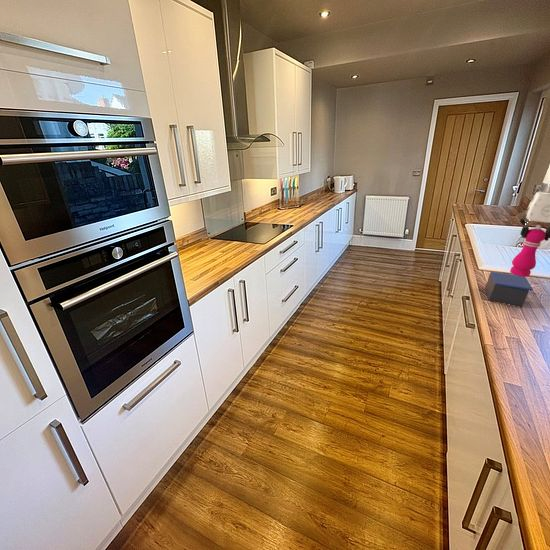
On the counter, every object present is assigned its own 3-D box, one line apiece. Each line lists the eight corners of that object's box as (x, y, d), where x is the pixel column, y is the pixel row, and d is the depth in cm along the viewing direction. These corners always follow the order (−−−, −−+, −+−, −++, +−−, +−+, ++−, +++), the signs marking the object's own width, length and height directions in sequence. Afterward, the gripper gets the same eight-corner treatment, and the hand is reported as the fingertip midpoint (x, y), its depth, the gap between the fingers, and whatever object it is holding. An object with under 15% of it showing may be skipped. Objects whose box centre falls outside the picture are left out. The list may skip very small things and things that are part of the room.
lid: (524, 277, 128) (524, 276, 127) (532, 290, 117) (532, 289, 116) (490, 273, 133) (490, 271, 133) (494, 284, 122) (495, 283, 122)
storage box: (515, 293, 132) (521, 278, 128) (521, 307, 121) (529, 291, 117) (484, 288, 136) (490, 273, 133) (488, 300, 125) (494, 285, 122)
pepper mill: (534, 278, 112) (556, 228, 103) (511, 275, 114) (531, 226, 106) (526, 271, 118) (547, 223, 109) (505, 268, 120) (524, 221, 112)
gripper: (526, 189, 103) (508, 237, 110) (591, 193, 96) (567, 244, 103) (521, 186, 109) (504, 232, 116) (582, 190, 102) (559, 239, 109)
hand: (534, 237), depth 110 cm, fingers closed on pepper mill, 6 cm apart
